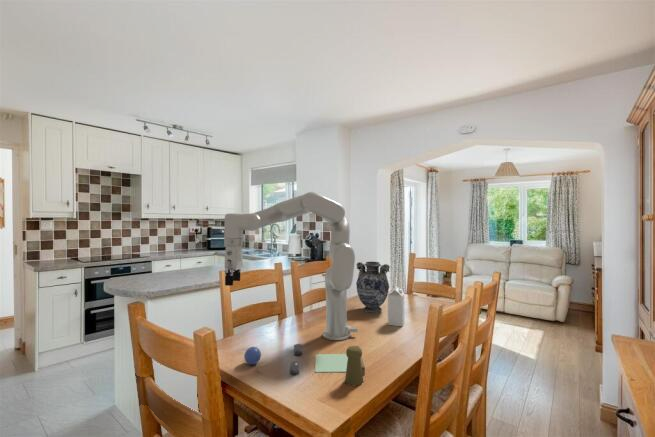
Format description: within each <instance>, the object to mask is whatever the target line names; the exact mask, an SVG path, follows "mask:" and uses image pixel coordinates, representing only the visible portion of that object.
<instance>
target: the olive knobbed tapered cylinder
mask: <svg viewBox="0 0 655 437" xmlns="http://www.w3.org/2000/svg"><path fill="white" fill-rule="evenodd" d="M358 346H359V345H351V346H348V347H347V348H346V351H345V354H346V355H347V357H348V361H347V369H346V372H345V377H344V382H345V384H347V385H348V384H349V386H351V385H355V386H354V387H358V386H357V385H359V386H361V384H362V383H363V384H364V375H363V374H362V366H361V359H360V358H361V357H362V356H363V350H362V348H361V347H360V346H359V347H358ZM362 358H363V357H362ZM363 384H362V385H363Z"/></svg>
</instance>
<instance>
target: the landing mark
mask: <svg viewBox="0 0 655 437" xmlns="http://www.w3.org/2000/svg"><path fill="white" fill-rule="evenodd" d="M314 360H315V362H314V364H315V365H314V366H315V367H314V373H346V369H347V361H348V357H347V355H346V353H327V354H326V353H324V354H323V353H322V354H321V353H320V354H319V353H317V354H316V353H315V359H314Z"/></svg>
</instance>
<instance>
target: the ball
mask: <svg viewBox="0 0 655 437" xmlns="http://www.w3.org/2000/svg"><path fill="white" fill-rule="evenodd" d="M243 357H244V361H245V363H247V364H248V365H251V366H252V365H257V363H259V361H260V360H261V357H262V352H261V350H260V349H259V348H258V347H257V346H251V347H248V348H247V349H246V350H245V352H244V354H243Z"/></svg>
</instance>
